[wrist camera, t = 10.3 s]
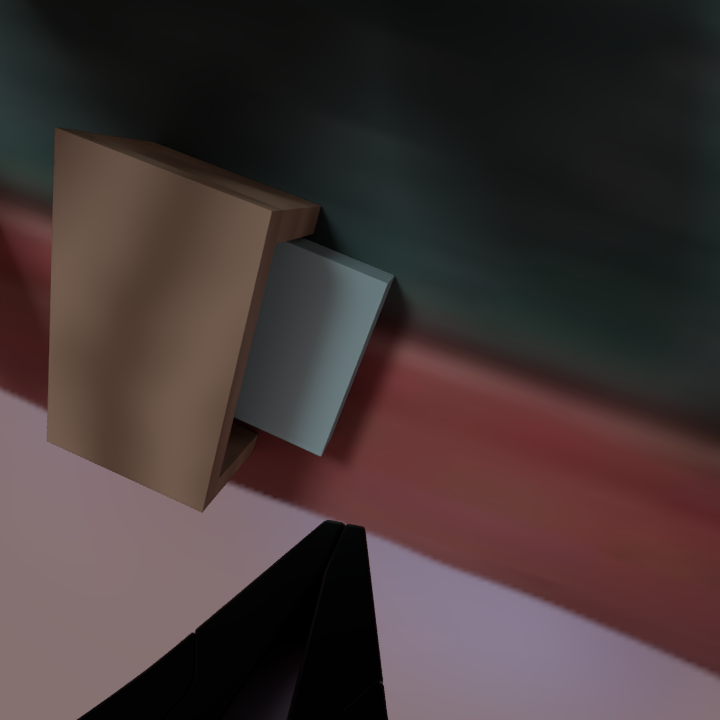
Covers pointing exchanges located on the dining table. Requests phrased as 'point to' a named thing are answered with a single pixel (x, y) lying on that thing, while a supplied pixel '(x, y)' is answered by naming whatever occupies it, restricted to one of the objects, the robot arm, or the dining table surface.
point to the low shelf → (157, 308)
